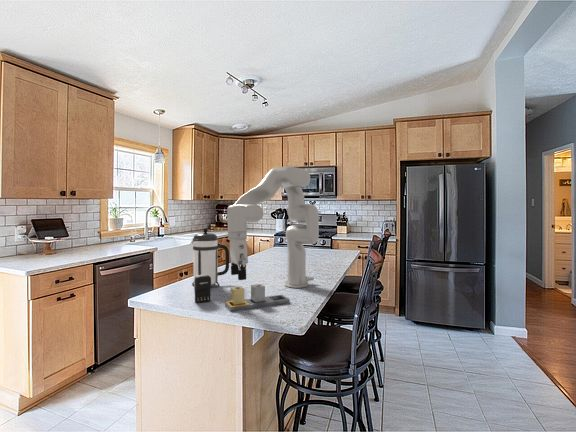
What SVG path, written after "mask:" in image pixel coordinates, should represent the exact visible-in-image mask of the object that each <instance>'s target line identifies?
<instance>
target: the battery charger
mask: <svg viewBox="0 0 576 432" xmlns="http://www.w3.org/2000/svg"><path fill="white" fill-rule="evenodd" d="M193 282H194V286H193V291H194V302H195V303H206V302H210V301H211V292H212V291H211V287H212V285H211V277H210V276H209V275H198V276H196V277H195V279H194V278H193Z"/></svg>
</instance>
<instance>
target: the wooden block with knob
mask: <svg viewBox="0 0 576 432" xmlns="http://www.w3.org/2000/svg"><path fill="white" fill-rule="evenodd" d="M244 300H245V287H243V286H231V287H230V301H231V305H232V306H236V305H243V304H244Z"/></svg>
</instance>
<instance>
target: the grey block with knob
mask: <svg viewBox="0 0 576 432" xmlns="http://www.w3.org/2000/svg"><path fill="white" fill-rule="evenodd" d="M265 297H266V286H265V285H263V284H262V283H259V284H251V285H250V299H251V302H253V303H261V302H265Z"/></svg>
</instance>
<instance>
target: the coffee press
mask: <svg viewBox="0 0 576 432" xmlns="http://www.w3.org/2000/svg"><path fill="white" fill-rule="evenodd" d="M208 230H209V229H208V228H207V227H204V228H203V232H201V233H197V234H195V235H193V238H192V239H191V242H190V243H189V245H191V246H192V245H193V246H192V250H193V256H192V257H193V280H194V279H195V277H196V276H198V275H209V276H210V277H211V286H214V287H215V288H220V284H219V281H218V277H219V276H223V275H226V274H227V273H228V271H229V269H230V249H229V248H228V246H226V245H223V244H218V242H219V237H218V236H217V234H216V233H212V232H208ZM218 249H223V250H224V253H225V255H224V256H225V267H224V269H223V270H222V271H219V269H218V261H219V260H218V255H219V254H218V251H219V250H218ZM191 284H192V286H193V287H194V281H193V282H192V283H191Z"/></svg>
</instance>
